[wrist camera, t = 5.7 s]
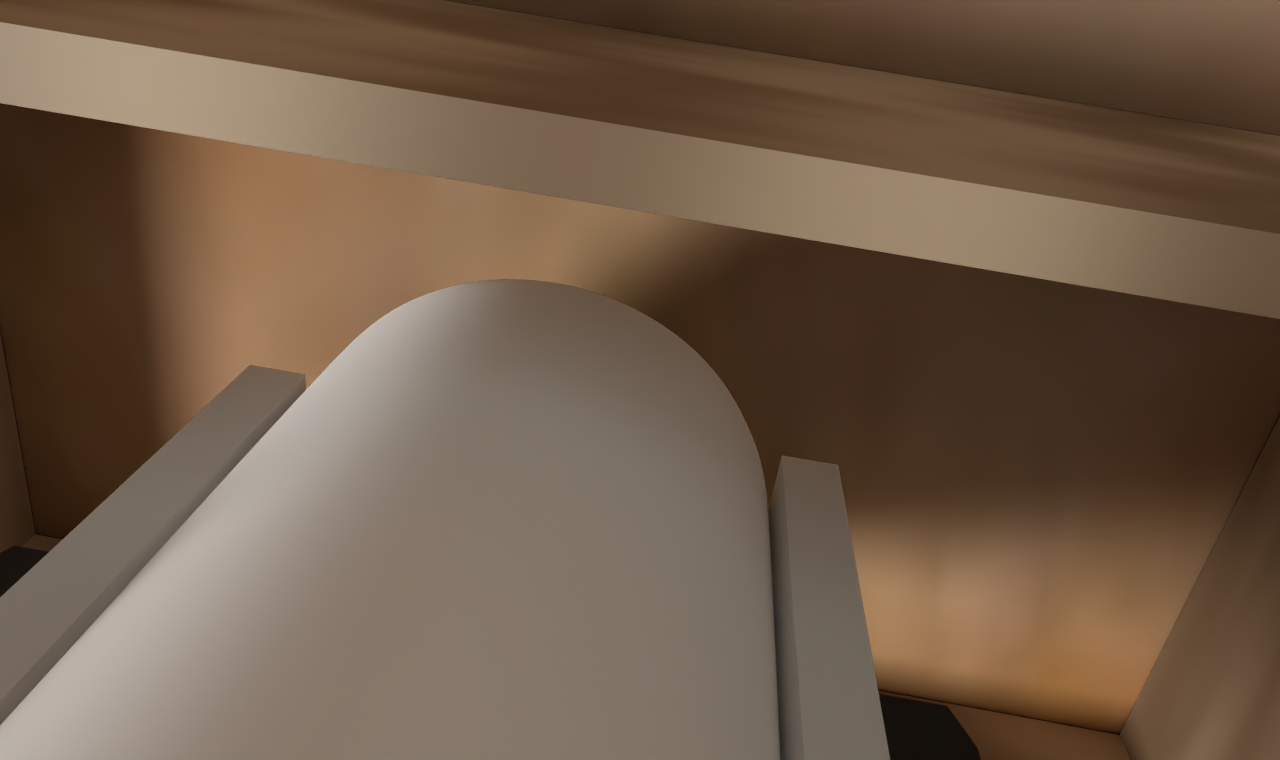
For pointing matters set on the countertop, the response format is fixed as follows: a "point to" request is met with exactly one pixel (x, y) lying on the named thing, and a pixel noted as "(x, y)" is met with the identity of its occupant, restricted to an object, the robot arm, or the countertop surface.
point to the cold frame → (742, 213)
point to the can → (454, 562)
